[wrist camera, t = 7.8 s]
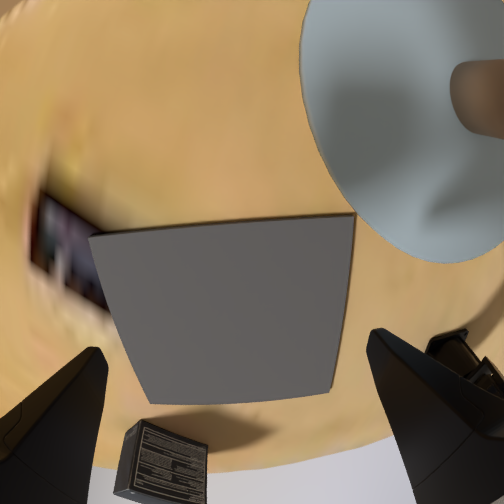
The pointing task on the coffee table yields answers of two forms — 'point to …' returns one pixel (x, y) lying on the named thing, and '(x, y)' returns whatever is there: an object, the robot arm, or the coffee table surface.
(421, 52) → the lid
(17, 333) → the coffee table surface
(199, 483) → the small box
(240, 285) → the mat
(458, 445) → the robot arm
